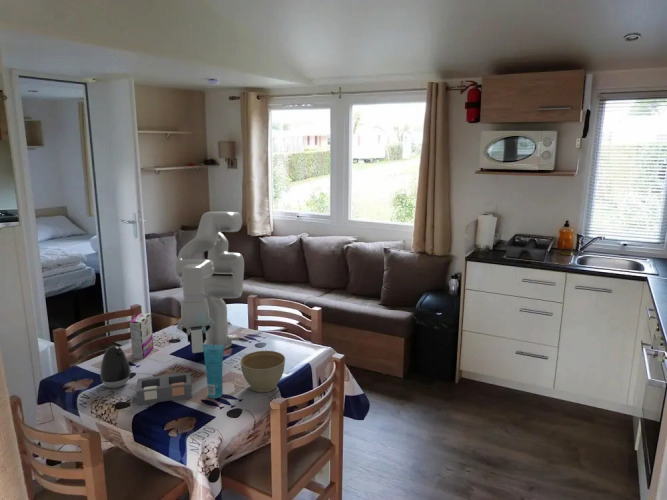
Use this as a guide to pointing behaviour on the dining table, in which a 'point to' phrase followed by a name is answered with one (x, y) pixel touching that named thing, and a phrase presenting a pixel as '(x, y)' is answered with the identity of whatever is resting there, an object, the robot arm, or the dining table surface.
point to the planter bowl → (263, 369)
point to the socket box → (163, 388)
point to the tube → (214, 369)
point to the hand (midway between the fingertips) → (197, 342)
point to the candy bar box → (141, 335)
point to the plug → (197, 339)
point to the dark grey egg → (115, 368)
